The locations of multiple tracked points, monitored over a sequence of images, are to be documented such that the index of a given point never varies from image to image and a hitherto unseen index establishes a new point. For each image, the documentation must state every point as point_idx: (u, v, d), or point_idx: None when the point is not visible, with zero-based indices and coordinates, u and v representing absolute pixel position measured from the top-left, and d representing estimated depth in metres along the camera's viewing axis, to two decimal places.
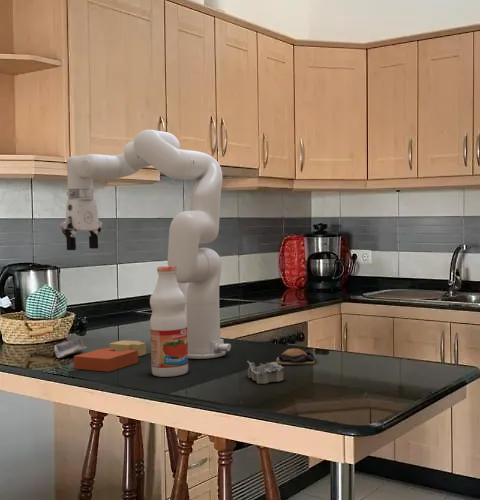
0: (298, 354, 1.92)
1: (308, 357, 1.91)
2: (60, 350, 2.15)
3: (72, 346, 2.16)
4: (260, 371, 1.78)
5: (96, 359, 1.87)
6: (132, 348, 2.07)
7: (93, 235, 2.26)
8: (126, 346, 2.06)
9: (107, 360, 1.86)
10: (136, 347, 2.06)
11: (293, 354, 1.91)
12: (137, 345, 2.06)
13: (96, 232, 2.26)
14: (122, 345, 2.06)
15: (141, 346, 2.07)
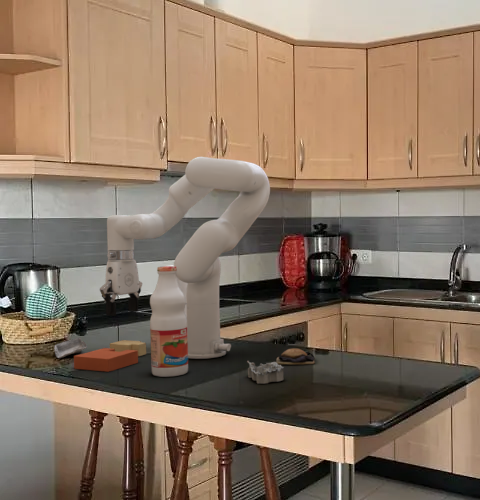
0: (298, 354, 1.92)
1: (308, 357, 1.91)
2: (60, 350, 2.15)
3: (72, 346, 2.16)
4: (260, 371, 1.78)
5: (96, 359, 1.87)
6: (132, 348, 2.07)
7: (133, 297, 2.14)
8: (126, 346, 2.06)
9: (107, 360, 1.86)
10: (136, 347, 2.06)
11: (293, 354, 1.91)
12: (137, 345, 2.06)
13: (136, 294, 2.13)
14: (122, 345, 2.06)
15: (141, 346, 2.07)
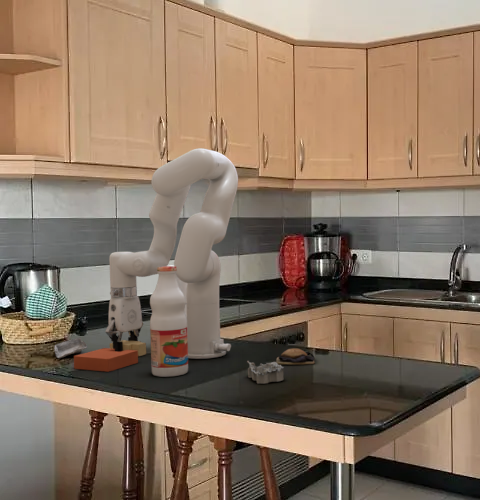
0: (298, 354, 1.92)
1: (308, 357, 1.91)
2: (60, 350, 2.15)
3: (72, 346, 2.16)
4: (260, 371, 1.78)
5: (96, 359, 1.87)
6: (132, 348, 2.07)
7: (132, 335, 2.12)
8: (126, 346, 2.06)
9: (107, 360, 1.86)
10: (136, 347, 2.06)
11: (293, 354, 1.91)
12: (137, 345, 2.06)
13: (136, 333, 2.12)
14: None
15: (141, 346, 2.07)
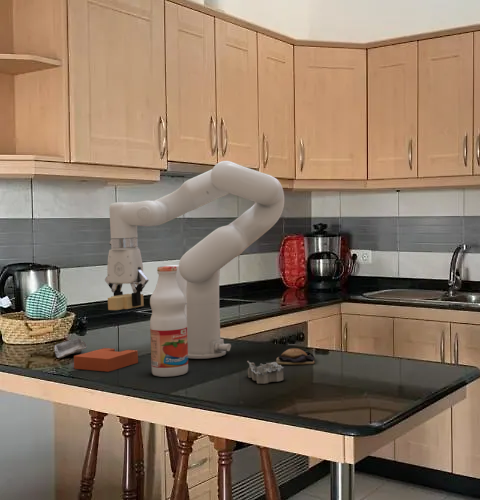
0: (298, 354, 1.92)
1: (308, 357, 1.91)
2: (60, 350, 2.15)
3: (72, 346, 2.16)
4: (260, 371, 1.78)
5: (96, 359, 1.87)
6: None
7: None
8: None
9: (107, 360, 1.86)
10: None
11: (293, 354, 1.91)
12: None
13: (133, 288, 2.02)
14: None
15: (110, 300, 1.99)
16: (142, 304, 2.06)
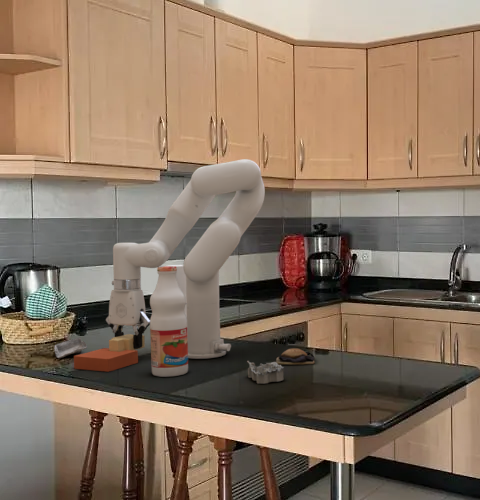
0: (298, 354, 1.92)
1: (308, 357, 1.91)
2: (60, 350, 2.15)
3: (72, 346, 2.16)
4: (260, 371, 1.78)
5: (96, 359, 1.87)
6: None
7: None
8: None
9: (107, 360, 1.86)
10: None
11: (293, 354, 1.91)
12: None
13: (135, 330, 2.00)
14: None
15: (112, 342, 1.97)
16: (143, 345, 2.04)
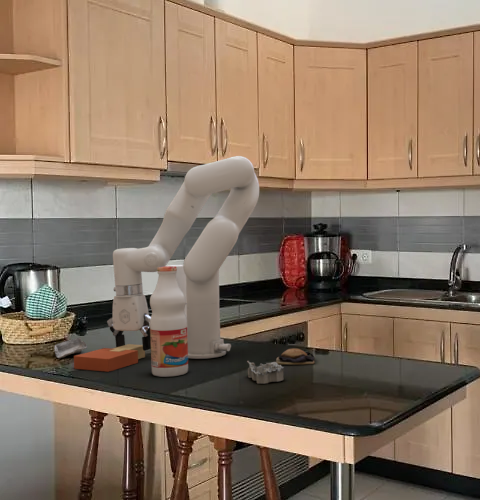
0: (298, 354, 1.92)
1: (308, 357, 1.91)
2: (60, 350, 2.15)
3: (72, 346, 2.16)
4: (260, 371, 1.78)
5: (96, 359, 1.87)
6: None
7: None
8: None
9: (107, 360, 1.86)
10: None
11: (293, 354, 1.91)
12: None
13: (143, 332, 1.99)
14: None
15: None
16: (143, 355, 2.04)
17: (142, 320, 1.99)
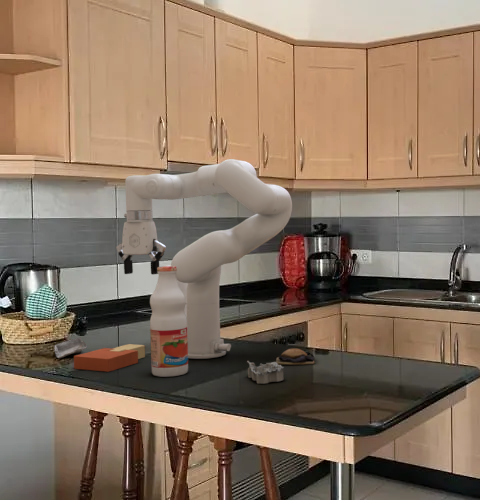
0: (298, 354, 1.92)
1: (308, 357, 1.91)
2: (60, 350, 2.15)
3: (72, 346, 2.16)
4: (260, 371, 1.78)
5: (96, 359, 1.87)
6: None
7: None
8: None
9: (107, 360, 1.86)
10: None
11: (293, 354, 1.91)
12: None
13: (151, 257, 2.07)
14: None
15: None
16: (143, 355, 2.04)
17: (151, 245, 2.06)
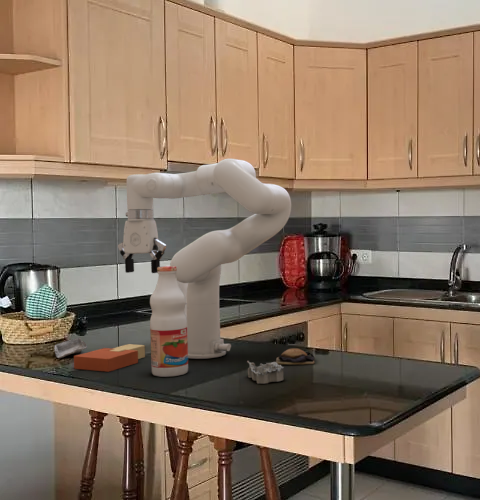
0: (298, 354, 1.92)
1: (308, 357, 1.91)
2: (60, 350, 2.15)
3: (72, 346, 2.16)
4: (260, 371, 1.78)
5: (96, 359, 1.87)
6: None
7: None
8: None
9: (107, 360, 1.86)
10: None
11: (293, 354, 1.91)
12: None
13: (152, 255, 2.07)
14: None
15: None
16: (143, 355, 2.04)
17: (152, 243, 2.07)
